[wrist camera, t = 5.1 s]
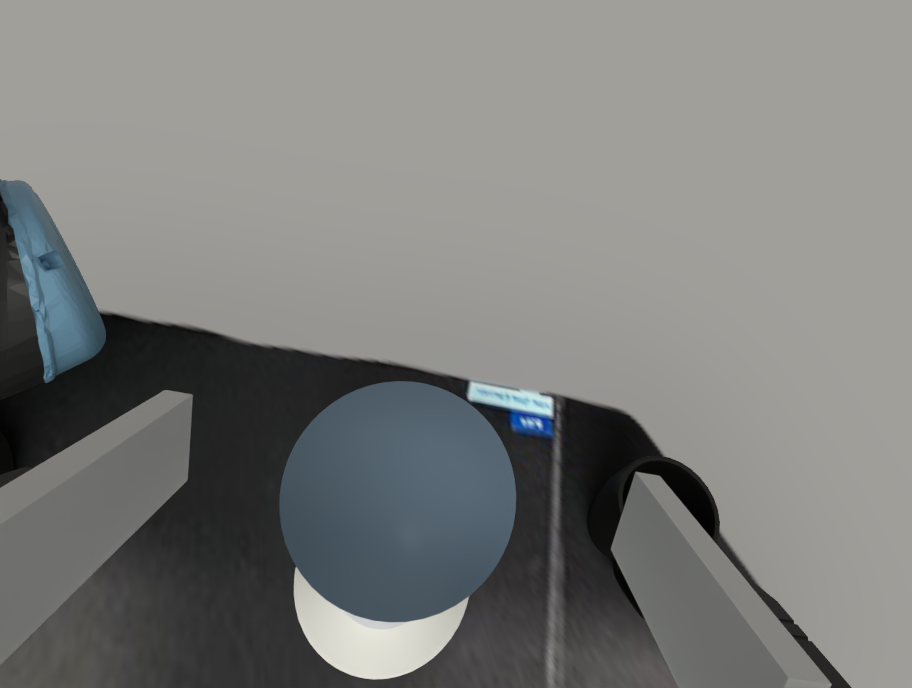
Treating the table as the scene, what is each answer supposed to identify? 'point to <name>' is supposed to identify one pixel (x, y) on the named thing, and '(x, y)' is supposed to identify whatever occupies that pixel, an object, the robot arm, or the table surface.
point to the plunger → (397, 501)
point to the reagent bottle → (371, 636)
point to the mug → (615, 494)
